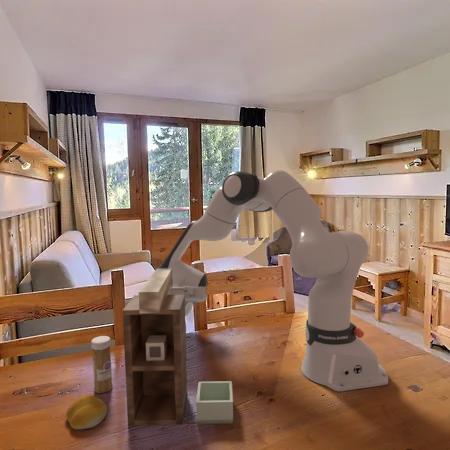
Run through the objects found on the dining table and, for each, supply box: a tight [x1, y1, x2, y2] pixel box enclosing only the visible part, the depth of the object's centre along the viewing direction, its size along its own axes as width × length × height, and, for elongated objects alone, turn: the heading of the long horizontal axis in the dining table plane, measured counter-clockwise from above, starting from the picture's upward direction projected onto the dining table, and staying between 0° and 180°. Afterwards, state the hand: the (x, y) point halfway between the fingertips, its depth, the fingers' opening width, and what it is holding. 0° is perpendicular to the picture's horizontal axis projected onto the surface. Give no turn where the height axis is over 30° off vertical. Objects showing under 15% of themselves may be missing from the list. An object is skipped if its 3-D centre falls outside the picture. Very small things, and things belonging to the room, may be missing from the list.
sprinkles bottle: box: [90, 335, 113, 394], centre depth 88 cm, size 5×5×13 cm
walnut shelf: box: [122, 294, 188, 426], centre depth 79 cm, size 12×10×26 cm
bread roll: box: [65, 394, 108, 430], centre depth 78 cm, size 8×9×4 cm
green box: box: [195, 380, 234, 425], centre depth 79 cm, size 8×8×5 cm
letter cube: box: [146, 335, 167, 361], centre depth 78 cm, size 4×4×4 cm
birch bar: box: [138, 268, 173, 314], centre depth 80 cm, size 4×20×4 cm, turn 1°
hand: (170, 289), depth 101 cm, fingers open, 8 cm apart
